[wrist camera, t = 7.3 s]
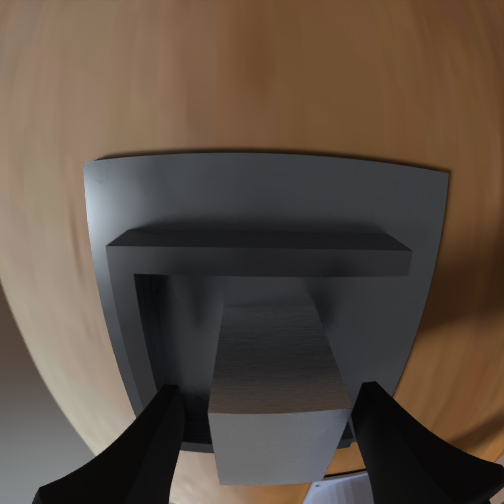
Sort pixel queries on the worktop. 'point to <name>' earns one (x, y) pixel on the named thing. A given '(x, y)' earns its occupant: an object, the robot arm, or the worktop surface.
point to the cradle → (259, 262)
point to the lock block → (275, 397)
